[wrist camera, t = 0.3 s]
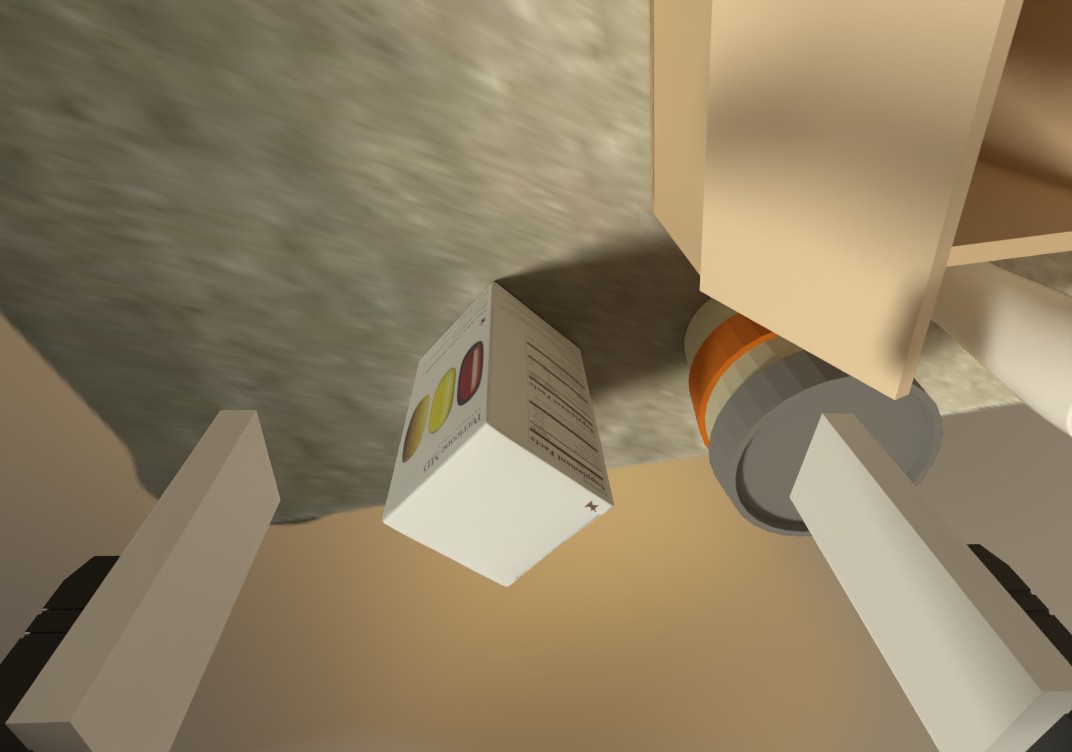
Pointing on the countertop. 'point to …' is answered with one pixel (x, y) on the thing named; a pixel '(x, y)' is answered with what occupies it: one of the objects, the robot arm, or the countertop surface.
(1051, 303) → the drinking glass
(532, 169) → the countertop surface
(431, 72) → the countertop surface
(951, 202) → the flap
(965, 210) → the carton
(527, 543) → the supplement box
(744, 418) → the reusable coffee cup
